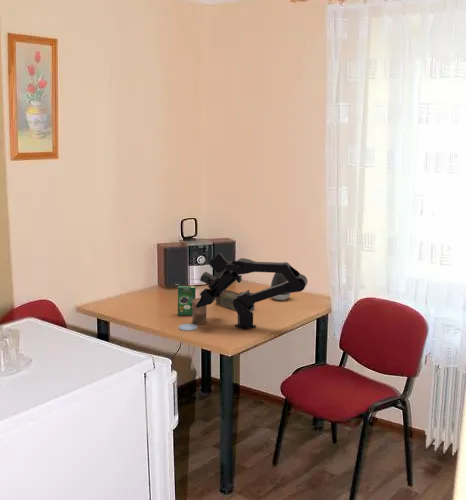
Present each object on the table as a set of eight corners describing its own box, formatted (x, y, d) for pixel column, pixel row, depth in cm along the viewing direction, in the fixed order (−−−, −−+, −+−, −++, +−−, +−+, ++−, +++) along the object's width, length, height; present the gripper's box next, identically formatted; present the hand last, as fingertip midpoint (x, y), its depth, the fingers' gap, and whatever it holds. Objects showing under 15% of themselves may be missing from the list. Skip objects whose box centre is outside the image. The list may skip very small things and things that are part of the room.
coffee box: (195, 313, 280) (195, 285, 278) (195, 315, 277) (195, 287, 275) (177, 313, 280) (177, 285, 277) (177, 315, 277) (177, 287, 274)
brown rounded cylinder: (209, 322, 267) (209, 300, 265) (197, 325, 264) (197, 302, 262) (201, 319, 272) (200, 297, 270) (189, 322, 268) (189, 299, 266)
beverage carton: (242, 314, 281) (242, 299, 280) (214, 304, 295) (214, 291, 294) (255, 310, 286) (255, 296, 285) (227, 301, 300) (227, 288, 299)
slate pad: (201, 328, 260) (201, 327, 260) (185, 332, 255) (185, 331, 255) (190, 323, 266) (190, 322, 266) (174, 327, 261) (174, 326, 261)
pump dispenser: (290, 302, 299) (291, 271, 296) (269, 301, 301) (269, 270, 298) (292, 296, 309) (292, 266, 306) (271, 295, 310) (271, 266, 307)
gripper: (218, 262, 270) (194, 284, 275) (205, 271, 253) (179, 295, 258) (235, 281, 270) (211, 303, 275) (223, 292, 252) (197, 315, 257)
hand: (199, 304), depth 266 cm, fingers open, 9 cm apart
